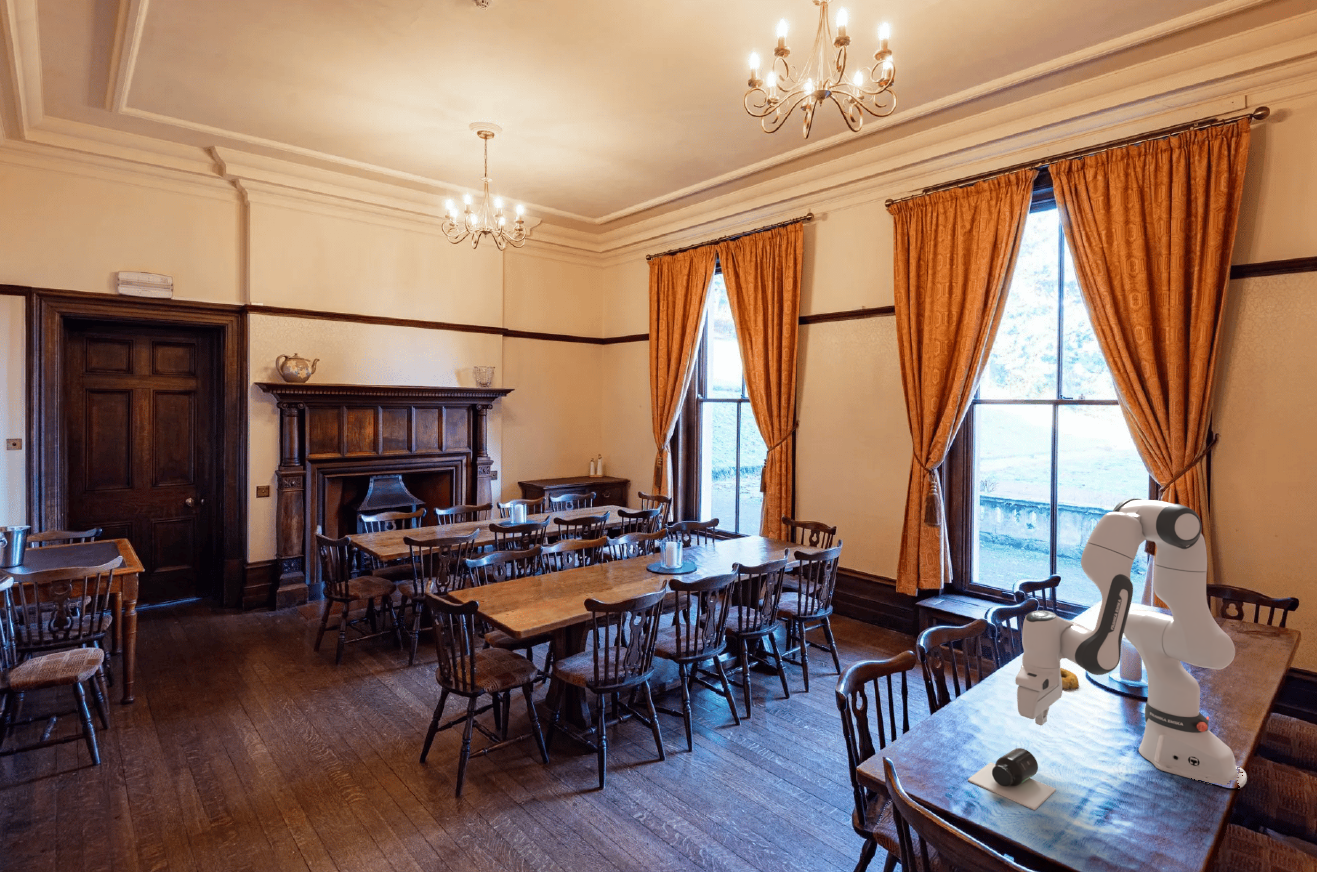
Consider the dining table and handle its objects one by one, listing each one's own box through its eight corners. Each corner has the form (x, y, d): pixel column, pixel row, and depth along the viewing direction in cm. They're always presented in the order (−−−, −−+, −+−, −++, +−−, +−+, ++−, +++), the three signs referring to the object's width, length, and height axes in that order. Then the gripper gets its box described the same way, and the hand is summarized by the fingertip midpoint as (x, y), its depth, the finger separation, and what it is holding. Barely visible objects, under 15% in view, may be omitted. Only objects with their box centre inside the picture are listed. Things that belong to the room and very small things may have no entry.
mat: (1056, 790, 164) (1056, 788, 164) (1034, 810, 156) (1034, 808, 156) (990, 763, 177) (990, 761, 177) (967, 780, 169) (967, 779, 169)
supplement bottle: (1043, 775, 167) (1019, 791, 160) (1018, 775, 172) (994, 790, 166) (1032, 747, 169) (1008, 761, 162) (1007, 747, 174) (983, 761, 168)
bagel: (1041, 684, 228) (1042, 671, 228) (1049, 675, 236) (1050, 662, 236) (1074, 693, 221) (1075, 679, 221) (1082, 684, 229) (1082, 670, 229)
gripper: (1043, 658, 185) (1043, 706, 185) (1012, 679, 172) (1012, 731, 172) (1068, 665, 180) (1068, 714, 180) (1038, 687, 167) (1038, 740, 167)
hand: (1041, 723), depth 176 cm, fingers closed
